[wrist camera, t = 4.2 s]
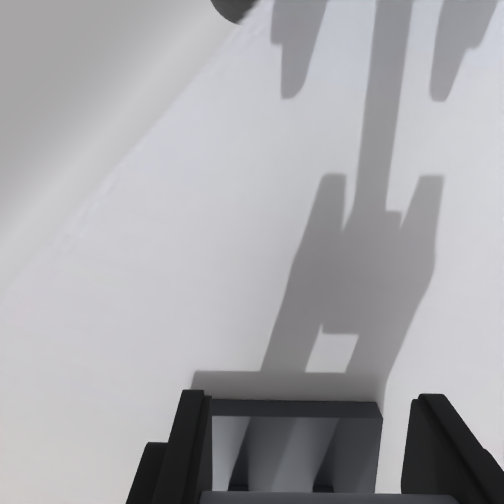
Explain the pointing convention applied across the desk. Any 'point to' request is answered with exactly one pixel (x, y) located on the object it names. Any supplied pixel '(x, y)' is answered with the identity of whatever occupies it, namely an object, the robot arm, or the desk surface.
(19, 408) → the desk surface
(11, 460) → the desk surface
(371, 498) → the switch lever
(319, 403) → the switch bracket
